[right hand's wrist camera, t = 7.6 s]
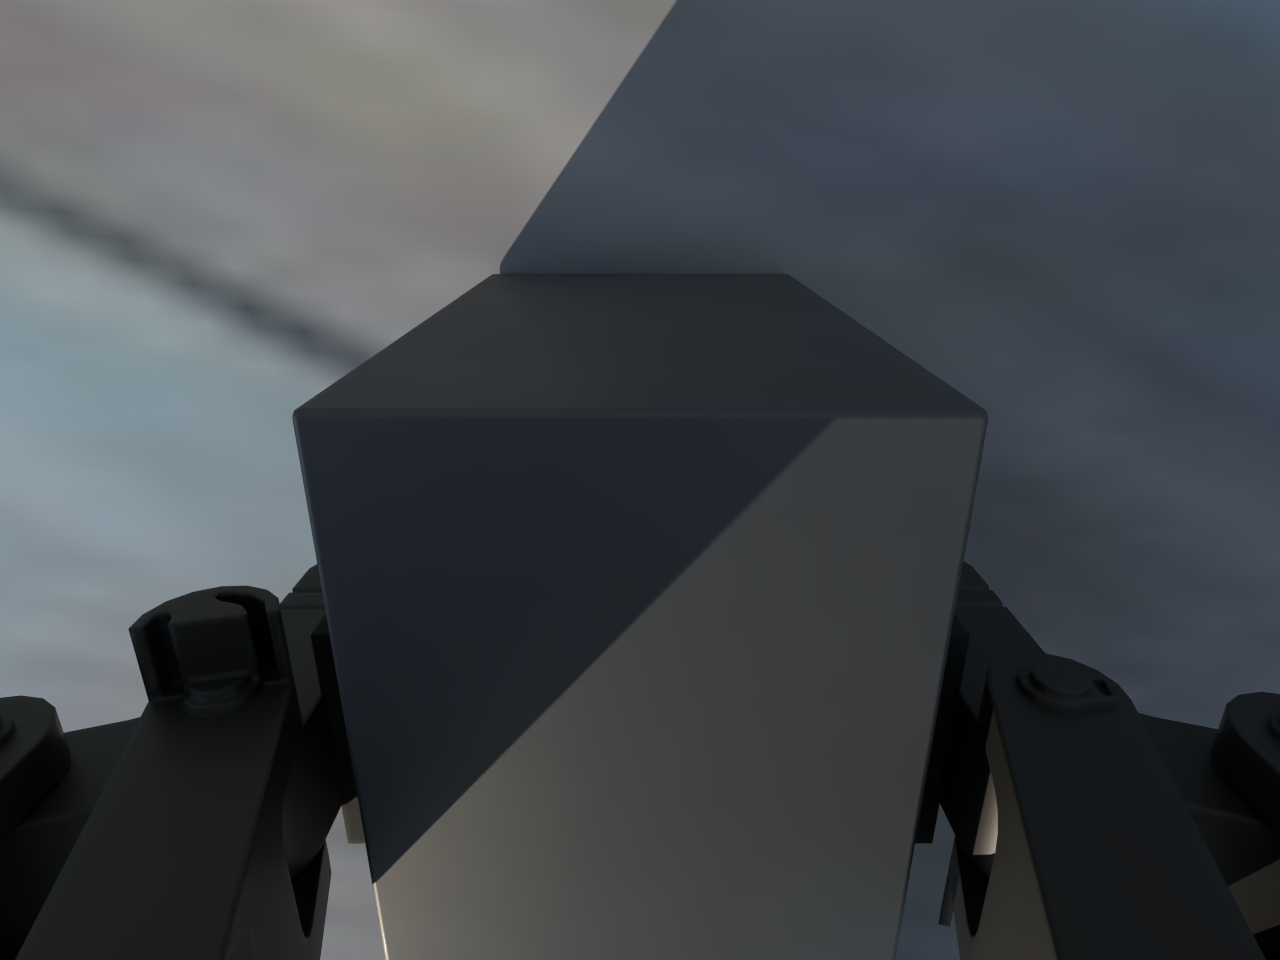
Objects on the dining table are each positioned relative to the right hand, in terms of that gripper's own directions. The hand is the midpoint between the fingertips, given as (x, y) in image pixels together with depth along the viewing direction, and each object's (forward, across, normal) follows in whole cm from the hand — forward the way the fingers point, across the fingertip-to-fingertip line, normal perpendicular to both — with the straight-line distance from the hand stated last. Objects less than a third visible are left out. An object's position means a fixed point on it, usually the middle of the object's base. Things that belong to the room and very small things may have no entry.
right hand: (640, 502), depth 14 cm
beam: (0, 0, -10) cm, 10 cm away
